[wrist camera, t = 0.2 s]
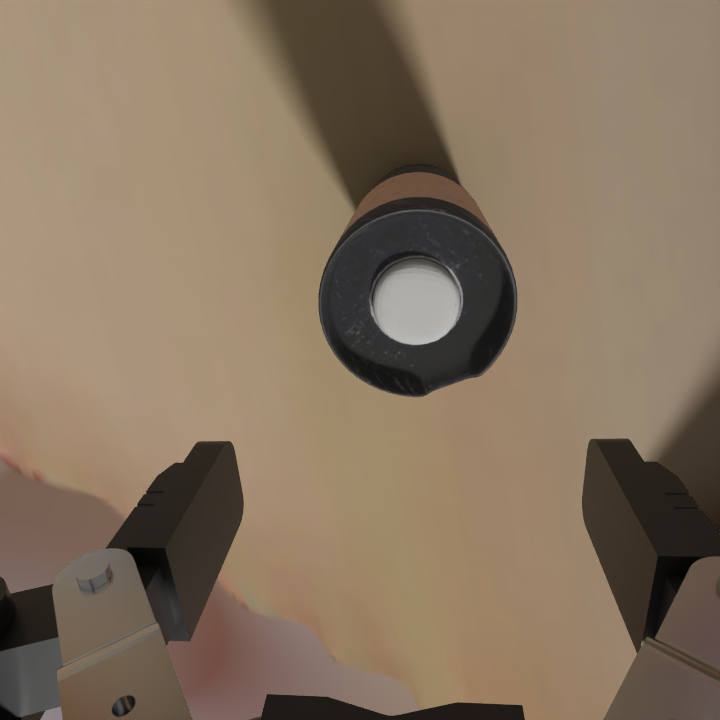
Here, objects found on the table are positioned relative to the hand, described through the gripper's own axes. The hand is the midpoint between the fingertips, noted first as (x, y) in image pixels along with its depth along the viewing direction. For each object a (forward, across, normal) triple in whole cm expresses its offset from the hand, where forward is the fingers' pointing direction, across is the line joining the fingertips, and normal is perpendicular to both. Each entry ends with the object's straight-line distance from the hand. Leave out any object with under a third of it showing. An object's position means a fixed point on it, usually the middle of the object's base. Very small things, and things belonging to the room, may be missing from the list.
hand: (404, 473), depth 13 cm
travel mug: (+29, 0, -1) cm, 29 cm away
